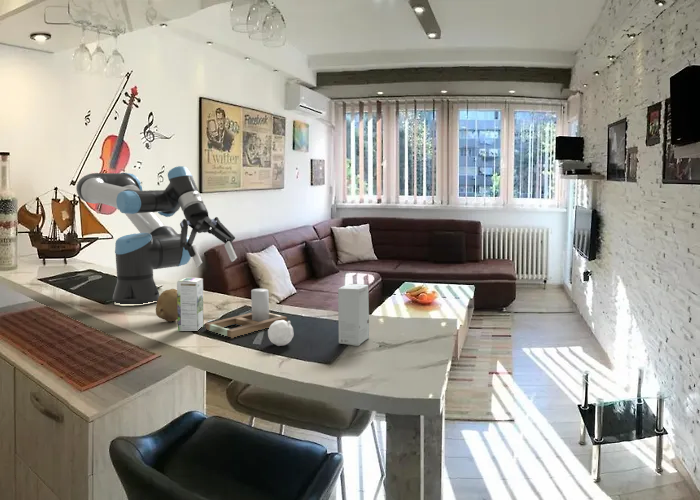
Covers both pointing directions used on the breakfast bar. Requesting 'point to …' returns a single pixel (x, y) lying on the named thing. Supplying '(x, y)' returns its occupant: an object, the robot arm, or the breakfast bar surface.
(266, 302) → the grey canister
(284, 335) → the ornament
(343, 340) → the skincare box
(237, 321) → the socket board
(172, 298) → the brown potato
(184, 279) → the syrup box
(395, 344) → the breakfast bar surface
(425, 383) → the breakfast bar surface
